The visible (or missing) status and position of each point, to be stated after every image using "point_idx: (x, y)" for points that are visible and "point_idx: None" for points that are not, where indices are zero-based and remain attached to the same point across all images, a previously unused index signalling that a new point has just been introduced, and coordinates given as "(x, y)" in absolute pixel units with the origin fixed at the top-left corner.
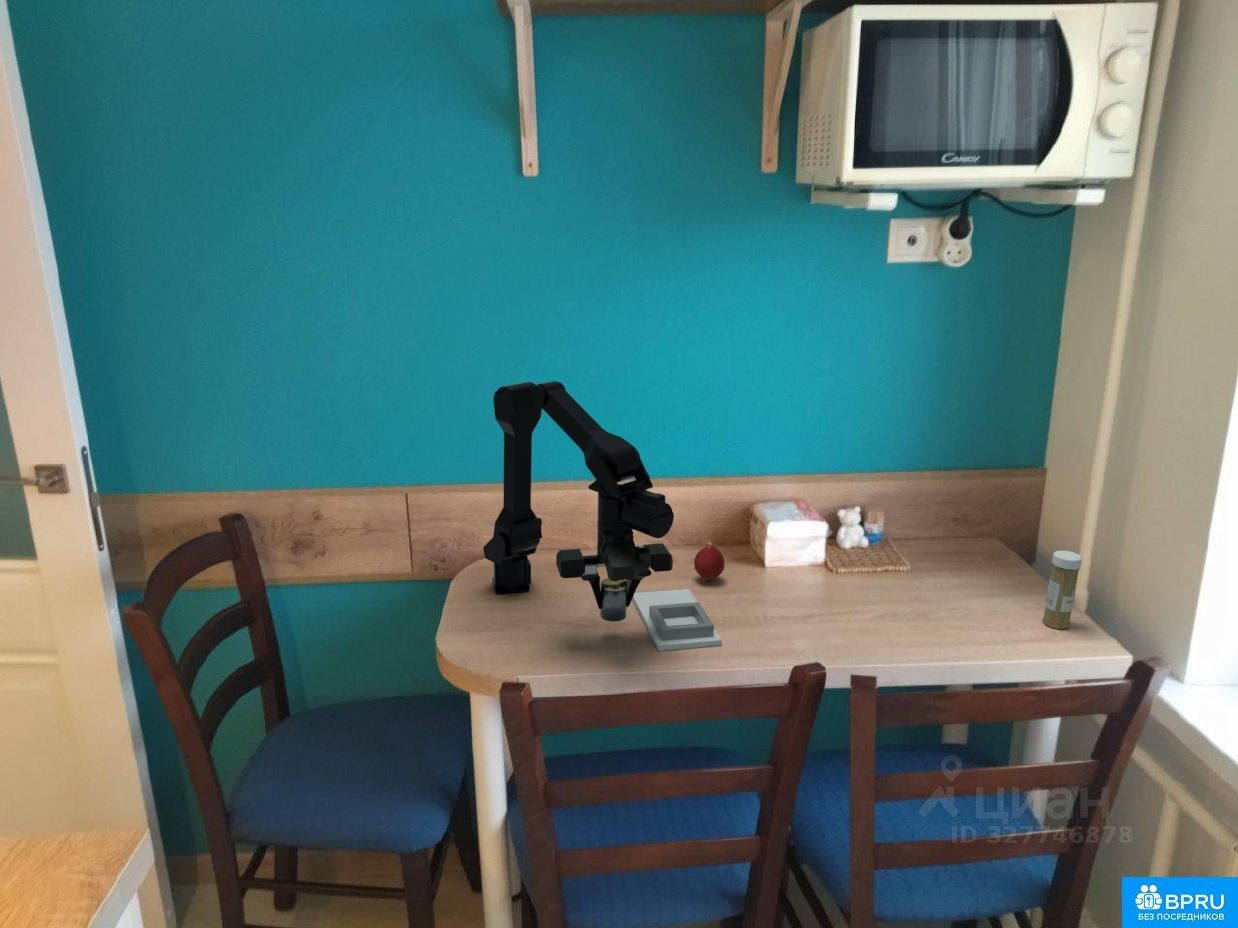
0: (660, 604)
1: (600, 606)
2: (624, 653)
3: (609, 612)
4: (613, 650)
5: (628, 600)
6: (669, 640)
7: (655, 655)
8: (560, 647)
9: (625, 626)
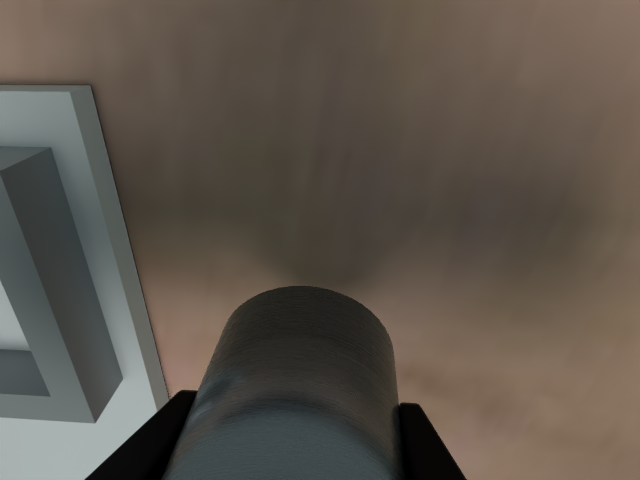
0: (75, 443)
1: (411, 417)
2: (289, 94)
3: (348, 346)
4: (346, 141)
5: (163, 431)
6: (7, 142)
7: (106, 34)
8: (625, 228)
9: None
